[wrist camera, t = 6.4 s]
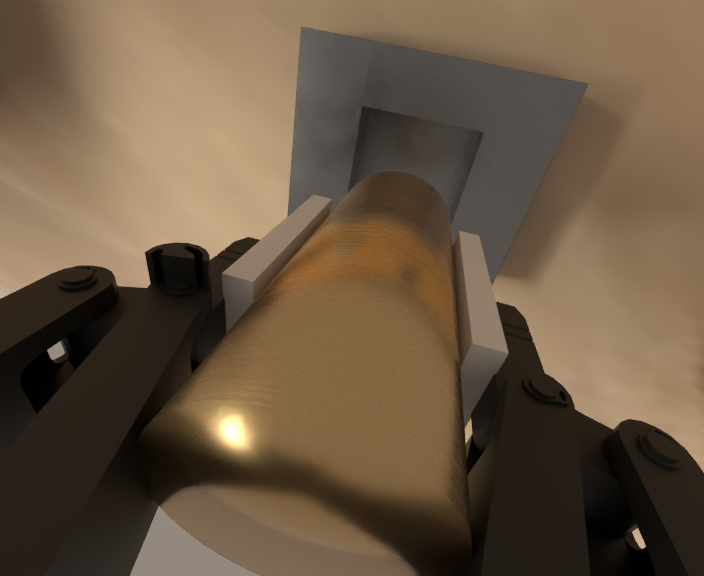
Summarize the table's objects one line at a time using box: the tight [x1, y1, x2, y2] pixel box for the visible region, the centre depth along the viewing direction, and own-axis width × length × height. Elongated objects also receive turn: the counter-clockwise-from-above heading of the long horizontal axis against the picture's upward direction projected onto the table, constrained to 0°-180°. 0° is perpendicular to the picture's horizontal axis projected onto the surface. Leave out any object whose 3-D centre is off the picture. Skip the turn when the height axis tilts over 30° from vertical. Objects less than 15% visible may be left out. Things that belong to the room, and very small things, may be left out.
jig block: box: [288, 27, 588, 285], centre depth 24 cm, size 16×14×4 cm
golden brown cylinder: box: [137, 171, 473, 576], centre depth 10 cm, size 5×5×12 cm
